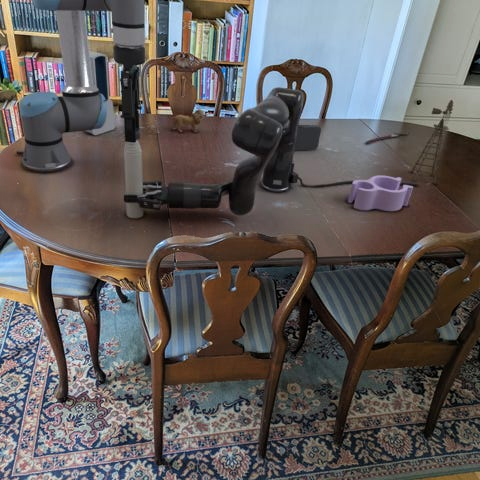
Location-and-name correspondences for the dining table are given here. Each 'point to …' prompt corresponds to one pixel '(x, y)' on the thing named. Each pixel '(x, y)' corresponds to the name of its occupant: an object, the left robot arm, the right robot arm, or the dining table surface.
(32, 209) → the dining table surface
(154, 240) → the dining table surface
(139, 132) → the cap
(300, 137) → the handheld gaming console
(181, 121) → the lion figurine
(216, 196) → the right robot arm
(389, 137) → the sword
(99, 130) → the electronic device
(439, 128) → the miniature windmill
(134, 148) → the bottle
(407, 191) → the clip
